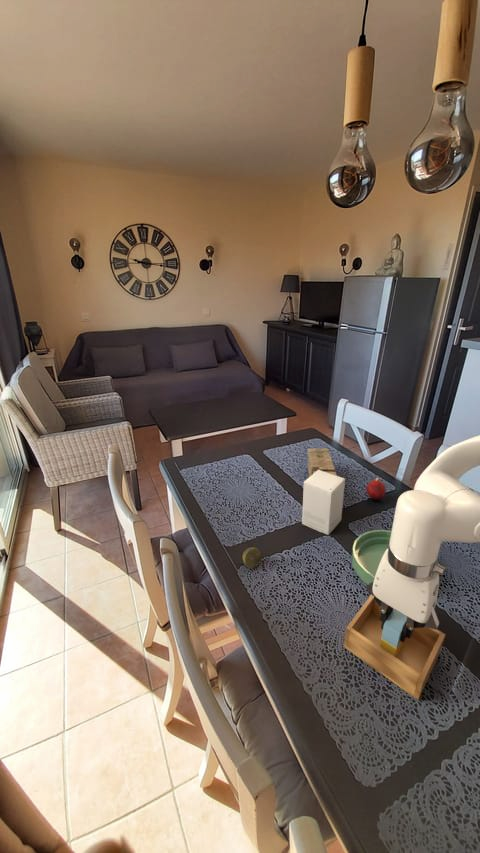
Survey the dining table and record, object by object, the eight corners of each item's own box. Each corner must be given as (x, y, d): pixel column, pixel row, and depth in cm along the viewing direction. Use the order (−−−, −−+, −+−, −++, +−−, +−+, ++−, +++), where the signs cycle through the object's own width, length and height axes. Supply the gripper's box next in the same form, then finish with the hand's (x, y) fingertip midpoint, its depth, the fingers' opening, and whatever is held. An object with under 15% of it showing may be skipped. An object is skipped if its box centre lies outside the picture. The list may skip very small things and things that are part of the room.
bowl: (443, 565, 92) (447, 553, 90) (415, 615, 79) (418, 602, 78) (371, 531, 104) (373, 520, 102) (337, 569, 92) (338, 557, 90)
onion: (383, 506, 115) (387, 484, 112) (364, 503, 117) (367, 482, 113) (383, 495, 120) (386, 475, 117) (365, 493, 122) (368, 472, 118)
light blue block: (407, 630, 71) (410, 616, 69) (396, 648, 68) (399, 634, 66) (391, 621, 73) (394, 607, 71) (381, 638, 70) (384, 623, 68)
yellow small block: (403, 644, 73) (406, 630, 71) (393, 662, 69) (396, 648, 68) (388, 634, 75) (391, 621, 73) (378, 652, 71) (381, 638, 70)
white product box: (342, 520, 109) (346, 478, 103) (328, 536, 103) (332, 492, 97) (315, 509, 114) (318, 468, 108) (300, 523, 108) (302, 481, 102)
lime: (262, 560, 95) (262, 545, 93) (256, 573, 91) (256, 558, 89) (246, 555, 97) (246, 541, 95) (240, 568, 93) (239, 553, 91)
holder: (439, 653, 71) (445, 634, 69) (418, 700, 64) (423, 681, 62) (369, 610, 81) (372, 591, 78) (343, 646, 73) (346, 627, 71)
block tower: (340, 516, 112) (327, 466, 138) (343, 494, 108) (329, 447, 134) (314, 516, 113) (306, 466, 139) (316, 494, 109) (308, 446, 135)
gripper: (470, 570, 60) (447, 644, 67) (375, 526, 70) (364, 595, 78) (456, 598, 55) (433, 675, 62) (356, 547, 65) (346, 617, 73)
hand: (395, 630), depth 70 cm, fingers closed on light blue block, 3 cm apart
